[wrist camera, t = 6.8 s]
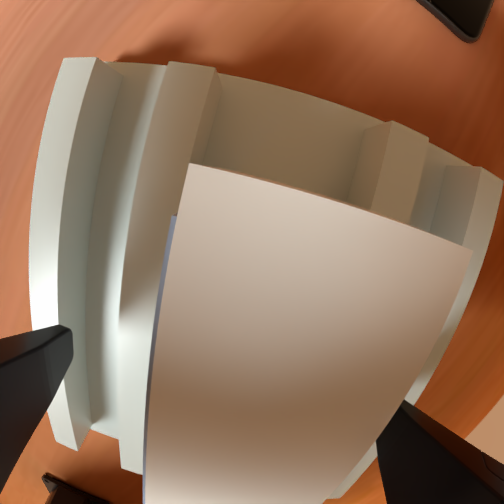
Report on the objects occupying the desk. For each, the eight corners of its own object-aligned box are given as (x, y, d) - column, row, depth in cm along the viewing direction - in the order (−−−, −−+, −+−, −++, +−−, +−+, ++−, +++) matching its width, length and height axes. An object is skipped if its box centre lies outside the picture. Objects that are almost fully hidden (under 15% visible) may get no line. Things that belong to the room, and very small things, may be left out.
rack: (329, 461, 14) (339, 502, 11) (77, 408, 13) (54, 445, 10) (459, 165, 10) (509, 169, 7) (105, 68, 9) (64, 43, 6)
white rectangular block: (239, 430, 11) (235, 576, 5) (179, 417, 11) (145, 562, 4) (317, 193, 9) (476, 252, 2) (233, 170, 9) (182, 162, 2)
